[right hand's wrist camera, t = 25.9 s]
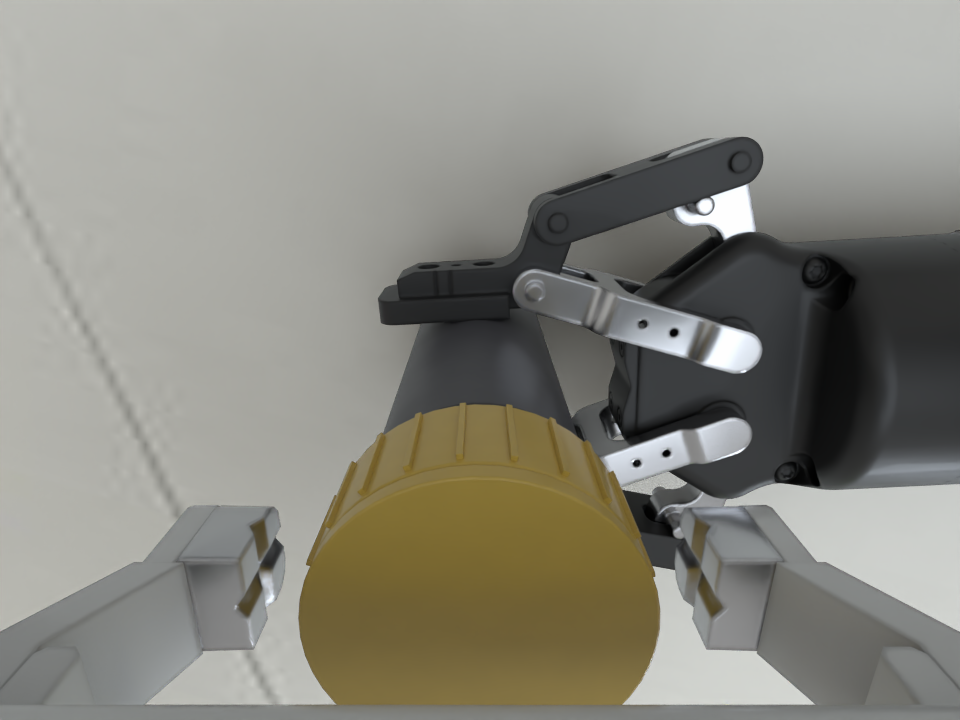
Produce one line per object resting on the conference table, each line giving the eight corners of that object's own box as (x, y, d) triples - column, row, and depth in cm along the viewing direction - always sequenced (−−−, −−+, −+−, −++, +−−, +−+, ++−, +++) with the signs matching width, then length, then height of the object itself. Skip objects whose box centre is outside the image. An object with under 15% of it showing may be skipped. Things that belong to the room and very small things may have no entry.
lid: (688, 527, 11) (742, 626, 8) (484, 687, 12) (485, 809, 10) (472, 335, 9) (470, 393, 7) (273, 538, 11) (218, 640, 9)
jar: (529, 378, 25) (597, 694, 10) (422, 370, 25) (341, 680, 10) (541, 272, 23) (641, 473, 9) (427, 263, 23) (338, 452, 9)
